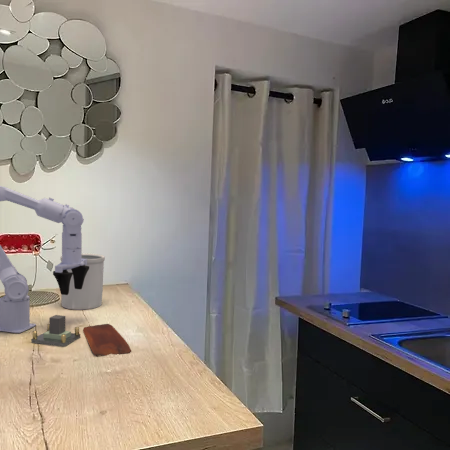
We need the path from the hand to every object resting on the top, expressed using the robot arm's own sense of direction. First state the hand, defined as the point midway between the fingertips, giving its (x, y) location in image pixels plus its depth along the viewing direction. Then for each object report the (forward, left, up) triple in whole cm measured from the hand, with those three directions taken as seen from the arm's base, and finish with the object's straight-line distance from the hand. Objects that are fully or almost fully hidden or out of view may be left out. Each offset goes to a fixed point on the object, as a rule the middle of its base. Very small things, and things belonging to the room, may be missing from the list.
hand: (71, 291), depth 145 cm
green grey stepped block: (+5, -15, -9) cm, 18 cm away
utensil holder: (-8, +20, -10) cm, 24 cm away
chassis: (+4, -15, -10) cm, 18 cm away
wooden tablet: (+16, -9, -11) cm, 22 cm away
